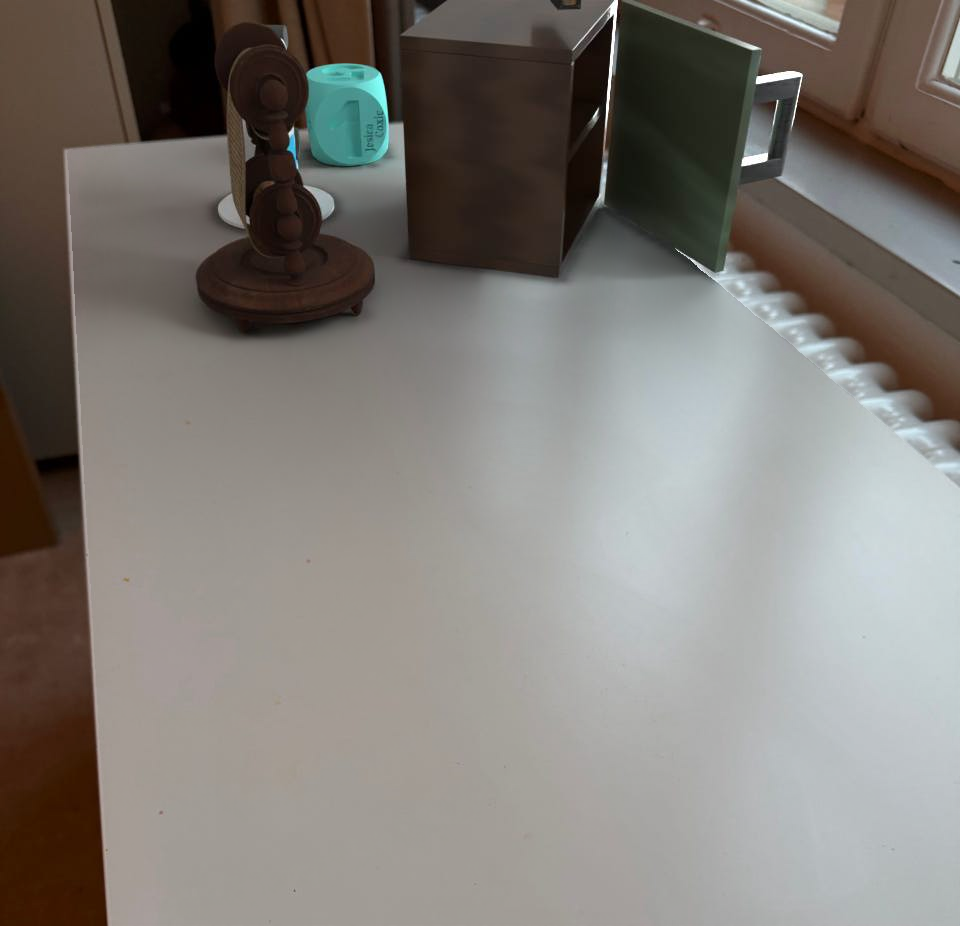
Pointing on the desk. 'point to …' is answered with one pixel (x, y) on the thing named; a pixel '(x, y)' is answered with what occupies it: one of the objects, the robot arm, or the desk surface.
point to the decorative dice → (347, 114)
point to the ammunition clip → (566, 4)
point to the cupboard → (505, 130)
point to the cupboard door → (688, 129)
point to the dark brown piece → (274, 199)
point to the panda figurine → (324, 199)
